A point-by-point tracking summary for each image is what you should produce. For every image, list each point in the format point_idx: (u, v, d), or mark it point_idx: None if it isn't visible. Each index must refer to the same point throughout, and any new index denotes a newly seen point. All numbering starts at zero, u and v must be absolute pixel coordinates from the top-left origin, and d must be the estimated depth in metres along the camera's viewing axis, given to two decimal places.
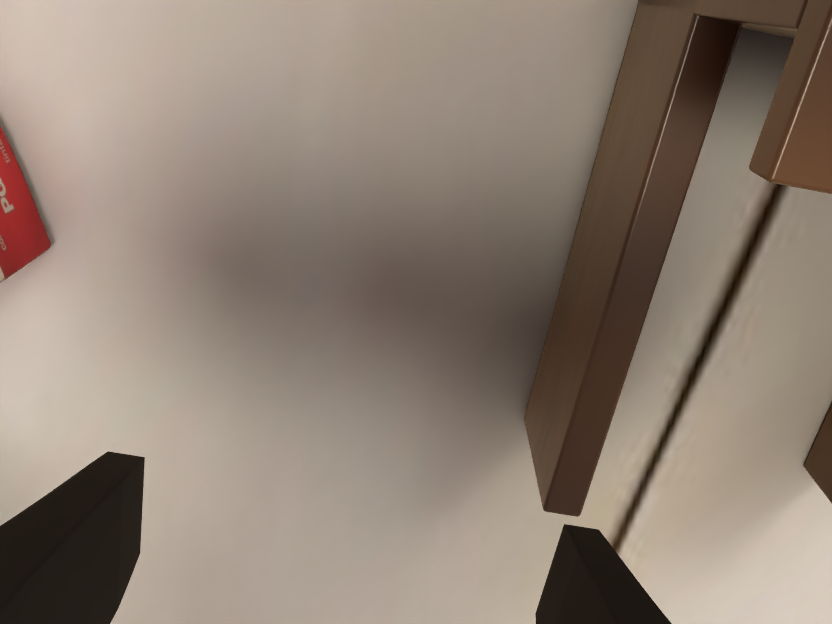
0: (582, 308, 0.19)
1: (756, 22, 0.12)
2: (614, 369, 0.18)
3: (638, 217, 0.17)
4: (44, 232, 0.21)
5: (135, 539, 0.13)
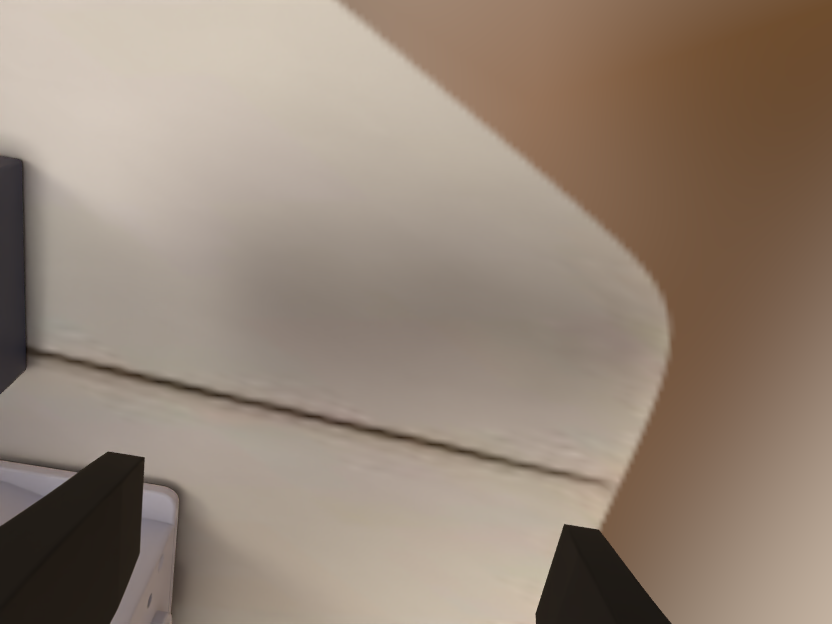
0: None
1: None
2: None
3: None
4: None
5: (135, 539, 0.13)
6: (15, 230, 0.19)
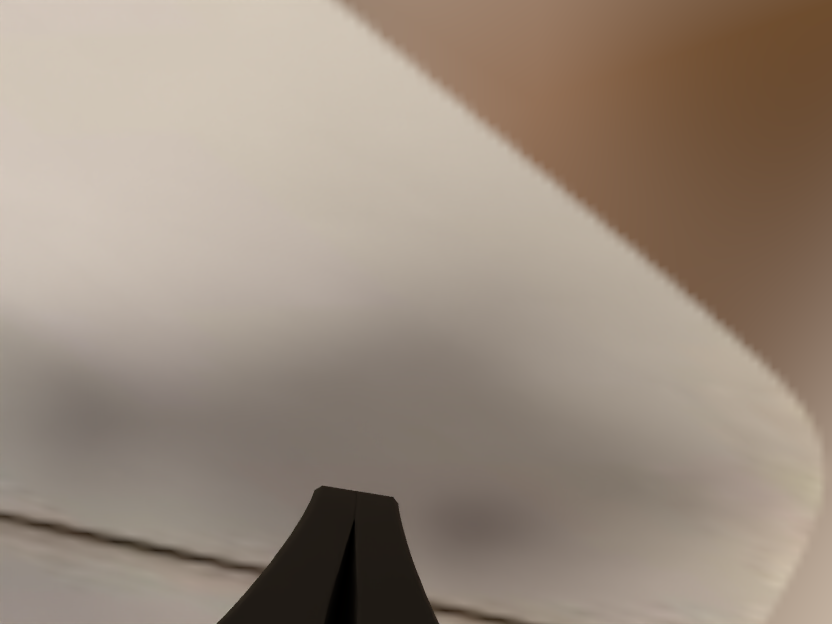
0: None
1: None
2: None
3: None
4: None
5: None
6: None
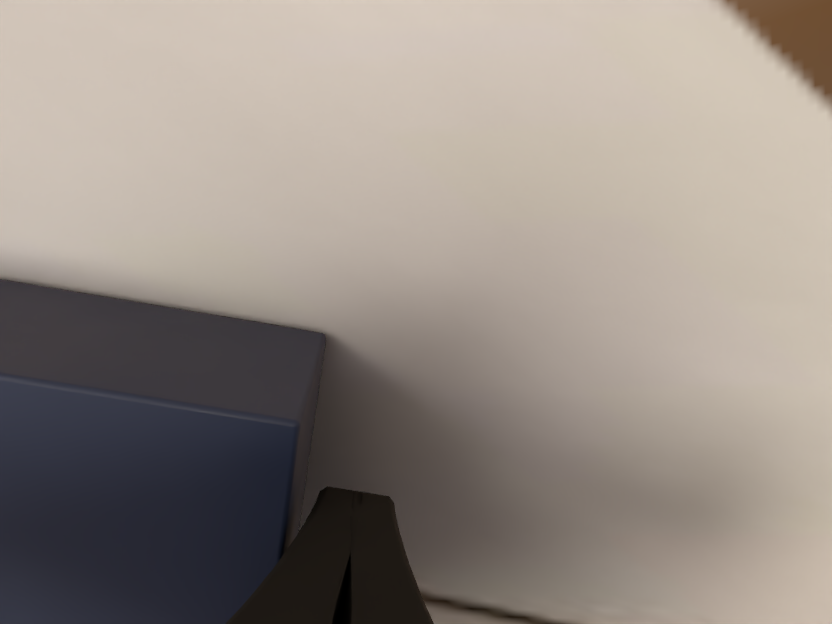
0: None
1: None
2: None
3: None
4: None
5: None
6: (311, 430, 0.14)
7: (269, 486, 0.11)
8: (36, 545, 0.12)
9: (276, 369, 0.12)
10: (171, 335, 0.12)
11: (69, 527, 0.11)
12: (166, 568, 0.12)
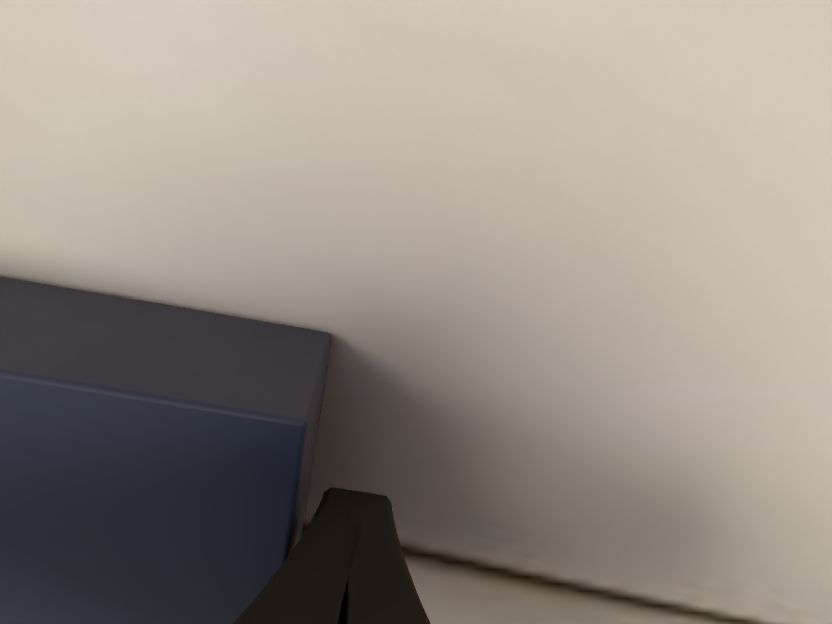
0: None
1: None
2: None
3: None
4: None
5: None
6: (316, 430, 0.14)
7: (275, 485, 0.11)
8: (43, 543, 0.12)
9: (282, 368, 0.12)
10: (177, 335, 0.12)
11: (75, 526, 0.11)
12: (172, 567, 0.12)
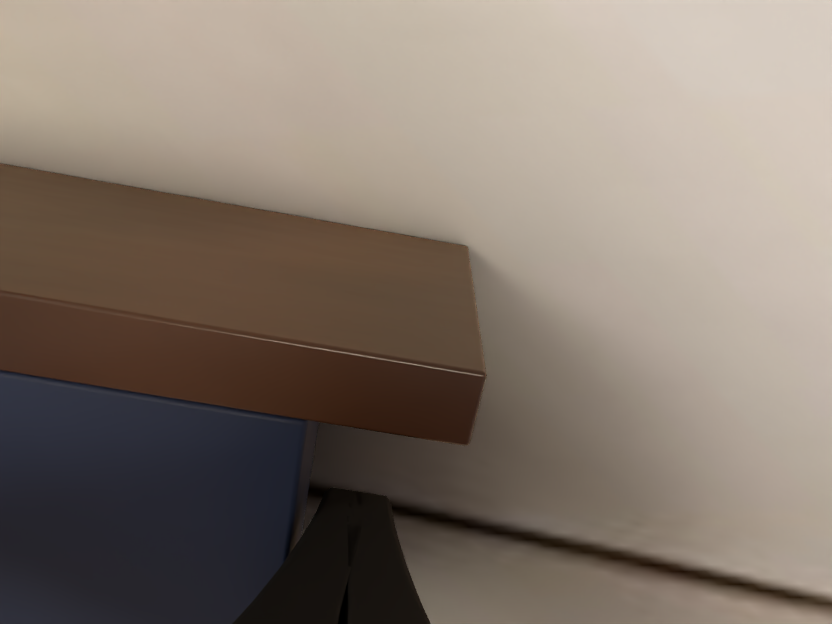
0: None
1: None
2: None
3: None
4: None
5: None
6: (316, 430, 0.14)
7: (275, 485, 0.11)
8: (43, 542, 0.12)
9: None
10: None
11: (76, 526, 0.11)
12: (172, 566, 0.12)
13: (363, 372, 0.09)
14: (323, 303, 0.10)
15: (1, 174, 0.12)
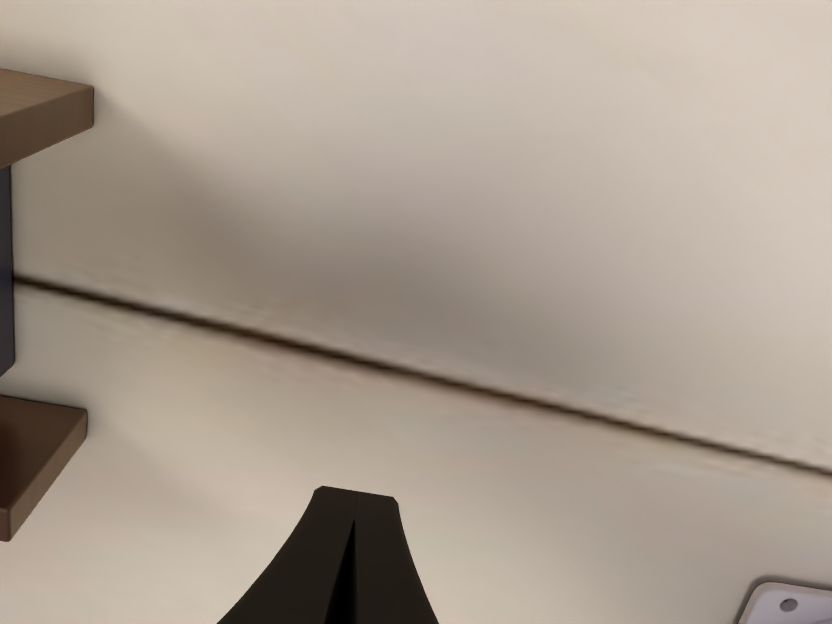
0: None
1: None
2: None
3: None
4: None
5: None
6: (2, 223, 0.19)
7: None
8: None
9: None
10: None
11: None
12: None
13: None
14: None
15: None
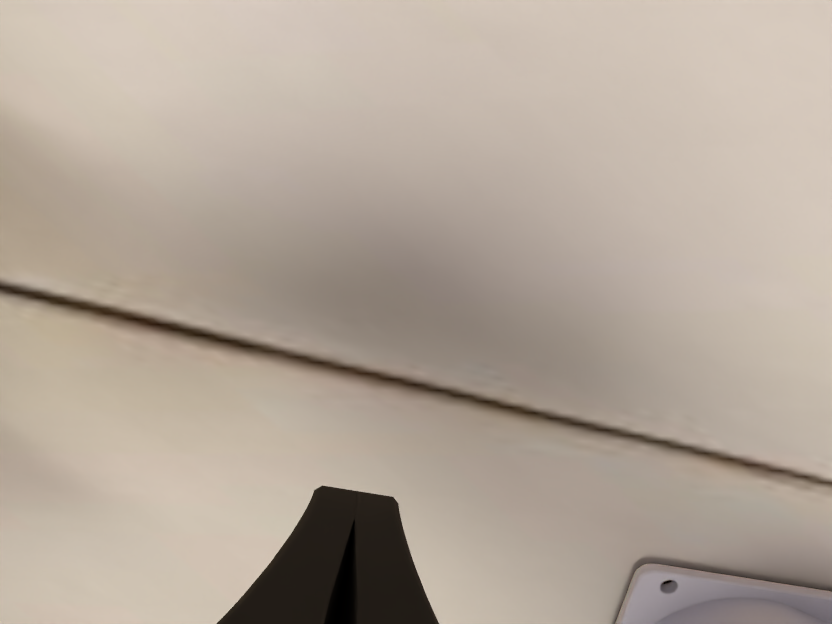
0: None
1: None
2: None
3: None
4: None
5: None
6: None
7: None
8: None
9: None
10: None
11: None
12: None
13: None
14: None
15: None
